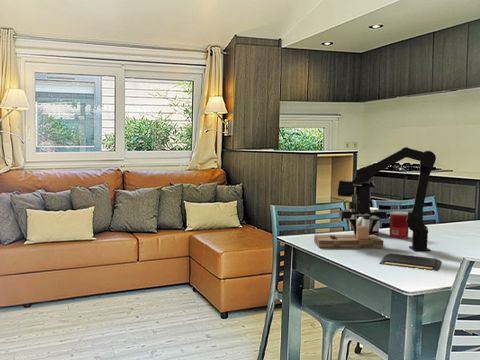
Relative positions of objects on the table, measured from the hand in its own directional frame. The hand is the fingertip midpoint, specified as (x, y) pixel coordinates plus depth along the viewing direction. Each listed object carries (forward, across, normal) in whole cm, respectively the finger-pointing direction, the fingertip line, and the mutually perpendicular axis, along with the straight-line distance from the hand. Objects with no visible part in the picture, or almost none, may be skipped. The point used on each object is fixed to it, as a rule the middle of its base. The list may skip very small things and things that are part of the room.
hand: (362, 234), depth 197 cm
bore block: (+4, +6, 0) cm, 7 cm away
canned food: (+4, -21, -16) cm, 27 cm away
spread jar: (+4, -9, -26) cm, 28 cm away
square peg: (+4, 0, 0) cm, 4 cm away
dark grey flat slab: (+5, -10, +28) cm, 30 cm away
